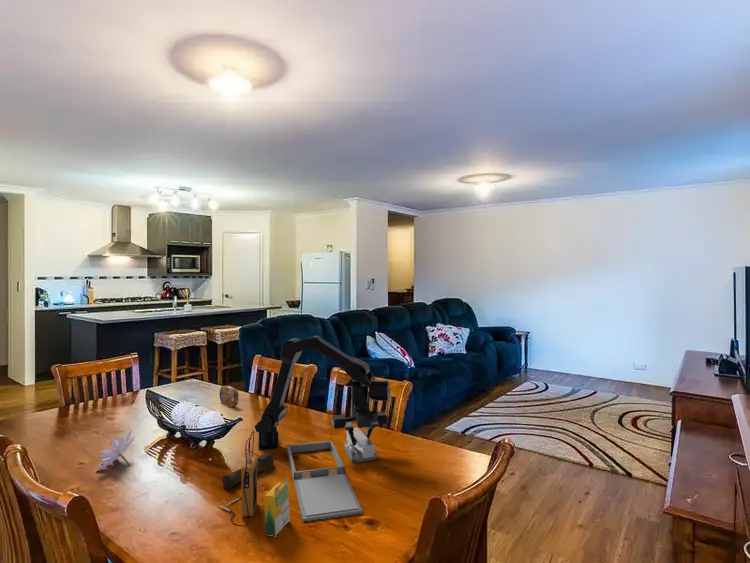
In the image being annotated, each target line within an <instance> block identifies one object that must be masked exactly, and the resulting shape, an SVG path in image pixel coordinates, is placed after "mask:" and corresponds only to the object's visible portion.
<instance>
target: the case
mask: <svg viewBox="0 0 750 563" xmlns="http://www.w3.org/2000/svg"><path fill="white" fill-rule="evenodd" d="M286 449H287V452H286V453H287V457H288V461H289V466H290V470H291V474H292V478H293V484H294V488H295V492H296V497H297V501H298V506H299V512H300V514H301V515H302V516H301V519H302V522H303V521H308V522H312V521H311V520H315V521H319V520H318V519H321V520H326V519H325V518H328V519H333V518H332V517H335V518H341V517H340V516H342V517H347V516H348V515H349V516H355V515H362V514H363V508H362V506H361V504H360V502H359V500H358V498H357V496H356V494H355V491H354V489H353V487H352V485H351V483H350V481H349V479H348V477H347V475H346V473H345V466H344V463H343V461H342V459H341V457H340V455H339V453H338V451H337V449H336V447H335V445H334V442H333V440H327V441H316V442H307V443H297V444H287V448H286ZM320 450H321V451H322V450H323V451H324V450H330V451H331V454H332V457H333V459H334V460H335V463H336V465H337V466H333V467H332V466H331V467H324V468H315V469H313V468H312V469H306V470H298V471H297V470H296V466H295V462H294V459H293V454H294V453H303V452H312V451H313V452H314V451H320ZM292 453H293V454H292Z"/></svg>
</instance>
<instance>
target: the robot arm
mask: <svg viewBox="0 0 750 563" xmlns="http://www.w3.org/2000/svg"><path fill="white" fill-rule="evenodd" d="M311 349H312V350H315V351H317V352H318V353H319V354H321V355H323V356H324V357H326V358H327V359H329V360H330V361H331V362H334V363H335V364H336V365H338V366H340V368H342V370H343V371H344V372H345V374H346V375H348V377H349V378H350V379H349V380H348V382H346V383H345V384H344V385H345V386H346V387H351V400H350V403H351V412H350V415H351V416H350V417H345V416H344V414H336V415H334V414H333V415H332V416H331V418H330V419H331V426H332V427H333V428H334V429H335V430H336V429H344V430H346V432H347V431H348V433H349V436H350V439H351V442H352V445H353V446H354V433H353V430H354V428H355V427H354V426H353V424H354V423H355V424H356V426H357V427H358V428H359V429H363V428H365V432H364V435H365V436H366V437H367V438H368V439H369V440H370V437H371V434H372V431H374V429H375V428H377V427H378V426H379V425H381V426H382V425H388V424H389V416H388V415H387V414H386V413H385V412H384V411H382V410H381V411H377V410H370V404H369V399H371V400H372V401H377V402H378V401H379V402H390V401H391V400H390V399H391V393H392V390H391V385H390V380H388V379H387V380H386V379H384V380H380V379H379V380H378V379H376V377H375V376H374V375H373V373H372V372H371V369H370V365H369V364H368V362H366V361H364V360H362V359H360V358H357V357H353V356H350V355H348V354H346V353H344V352H343V351H342V350H340V349H339V348H337V347H336V346H334V345H332V344H331V343H330V342H328V341H326V340H325V339H323V338H322V337H321V336H320V335H314V336H311V337H306V338H305V337H304V338H301V339H300V338H299V337H293V338H291V339H288V340H286V341H284V342H283V343H282V344H281V351H280V359H281V361H280V362H281V364H280V368H279V371H278V374H277V379H276V381H275V384H274V388H273V392H272V394H271V399H270V401H269V402H268V403H267V406H266V407H265V408H264V410H263V413H262V415H261V417H260V418H261V419H260V420H259V421H258V422H257V423H256V424H254V428H255V429H254V430H255V432H256V433H258V442H257V447H258V450H266V449H267V450H268V449H276V448H278V445H279V430H278V428H277V426H278V425H279V424H280V422H281V421H282V420H283V419H285V418H286V412H287V410H288V408H289V407H288V406H286V405H285V398H286V395H287V392H288V389H289V384H290V382H291V378H292V375H293V370H294V368H295V364H296V363H297V361H298V360H299V358H300V357H301V356H302V353H303V352H304V351H308V350H311ZM357 427H356V428H357ZM352 445H351V446H352Z"/></svg>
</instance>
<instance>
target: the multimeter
mask: <svg viewBox="0 0 750 563" xmlns="http://www.w3.org/2000/svg"><path fill="white" fill-rule="evenodd" d="M251 440H252V449H251ZM254 441H255V431H254V430H253V431H251V434H250V437H249V438H248V439H246V442H245V444H244V446H245V448H244V450H245V452H244V453H245V459H244V462H243V463H242V466H241V468H240V469H241V480H242V481H241V497H238V498H236V499H233V500H232V501H230V502H229V503H228V504H225V506H229V505H230V504H231V503H232V504H234V503H235V502H237V501H239V500H241V517H247V522H246V524H245V525H246V526H248V524H249V522H250V517H253V516H254V514H255V510H256V507H257V504H258V473H257V458H258V456H256V455H255V456H254V455H253V454H254V444H255V442H254ZM247 443H248V444H247ZM247 445H248V453H247ZM247 455H248V456H247ZM218 506H219V507H221V508H222V510H225V511H227V512H231V513H232V514H233V515H232V516H231V517H230V521H232V522H234V521H233V518H234V516H235V512H234V511H232V510H231V509H230V508H227V507H225V506H222V505H220V504H219V505H218ZM232 522H231V523H232ZM235 524H236V523H235V522H234V524H233V525H235Z"/></svg>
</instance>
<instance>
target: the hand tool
mask: <svg viewBox="0 0 750 563" xmlns="http://www.w3.org/2000/svg"><path fill="white" fill-rule="evenodd" d="M274 459H275V458H274V456H273V454H272V453H270V452H269V453H264V454H262V455H260V456H257V474H258V473H264V472H266V471H267V470H269V469H270V468H271V467H272V466H273V465H274V464H275V463H274V462H275V460H274ZM221 480H222V485H223V487H224V488H226V489H232V488H233V487H236V485H238V484H239V483H242V480H241V468H239V469H237V470H235V471H233V472H231V473H229V474H224V475H223V476H222V479H221Z"/></svg>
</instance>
